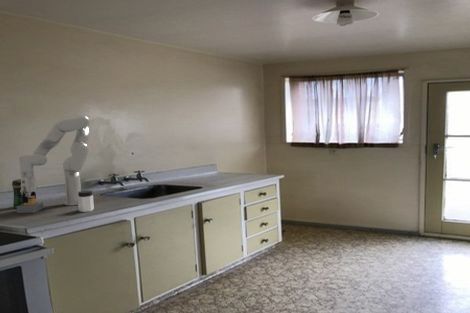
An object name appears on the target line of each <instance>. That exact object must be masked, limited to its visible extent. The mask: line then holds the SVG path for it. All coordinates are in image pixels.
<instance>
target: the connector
mask: <svg viewBox="0 0 470 313" xmlns="http://www.w3.org/2000/svg"><path fill="white" fill-rule="evenodd" d="M36 202H37V195H36V196H31V195H29V196H28V203H24V206H26V205H35V204H36Z"/></svg>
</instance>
